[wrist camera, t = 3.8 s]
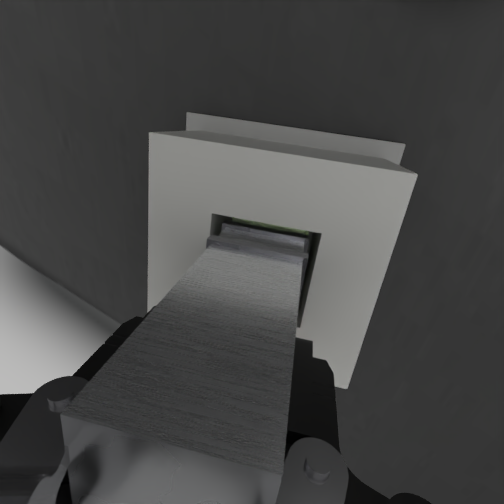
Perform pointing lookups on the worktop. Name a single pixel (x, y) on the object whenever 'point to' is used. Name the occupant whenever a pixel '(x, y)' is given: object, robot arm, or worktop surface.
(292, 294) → the column
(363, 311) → the stand base
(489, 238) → the worktop surface
